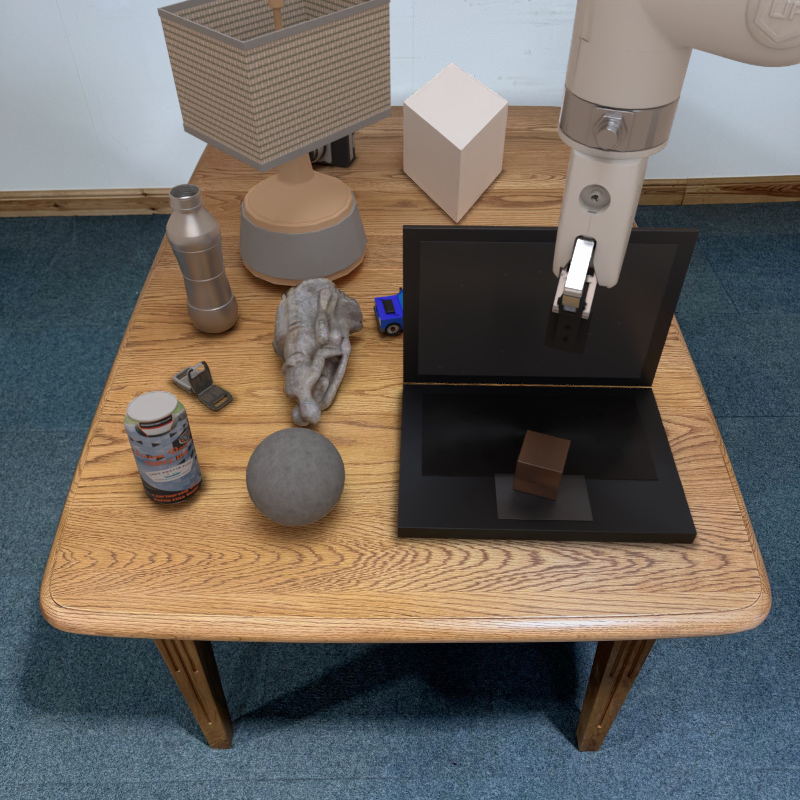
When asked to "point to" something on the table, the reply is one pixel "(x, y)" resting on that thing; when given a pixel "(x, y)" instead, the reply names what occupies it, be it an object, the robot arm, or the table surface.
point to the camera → (335, 152)
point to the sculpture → (314, 344)
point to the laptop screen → (532, 307)
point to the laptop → (498, 453)
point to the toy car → (389, 313)
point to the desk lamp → (284, 115)
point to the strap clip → (201, 385)
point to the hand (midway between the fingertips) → (574, 313)
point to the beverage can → (163, 447)
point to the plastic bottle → (200, 260)
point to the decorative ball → (295, 476)
